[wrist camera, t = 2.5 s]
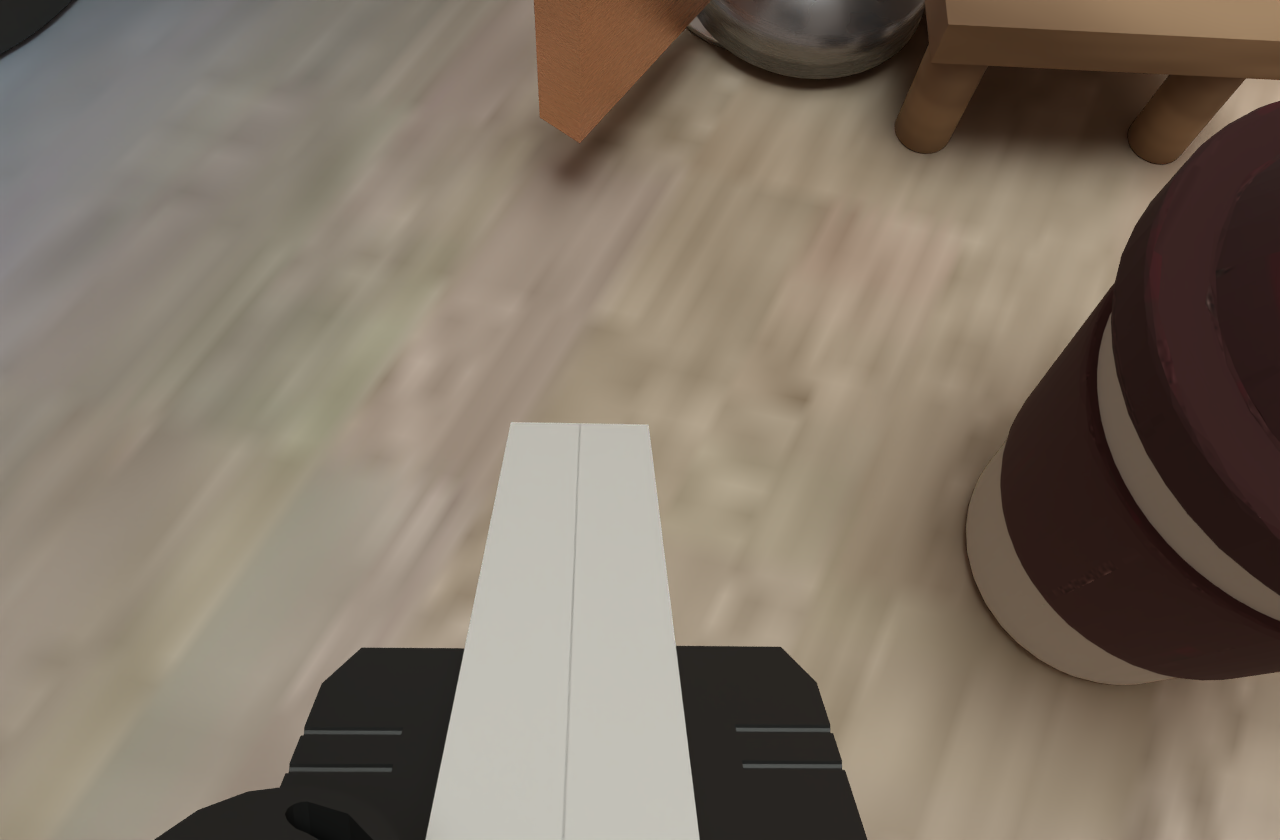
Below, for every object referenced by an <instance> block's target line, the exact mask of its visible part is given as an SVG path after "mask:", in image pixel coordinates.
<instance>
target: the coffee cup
mask: <svg viewBox="0 0 1280 840" xmlns="http://www.w3.org/2000/svg"><path fill="white" fill-rule="evenodd" d="M966 539H967V554H968V557H969V561H970V565H971V569H972V573H973V577H974V580H975V582H976V584H977V586H978V588H979V591H980V593H981V595H982V597H983V599H984V602H985V604H986V605H987V606H988V608H989V609H990V611H991V612H992V614H993V615H994V616H995V618H996V619H997V621H998V622H999V624H1000V625H1001V626H1002V627H1003V628H1004V629H1005V630H1006V631H1007V633H1008V634H1009V635H1010V636H1011V637H1012V638H1013V639H1014V640H1015V641H1016V642H1017V643H1018V644H1020V645H1021V646H1022V647H1023V648H1025V649H1026V650H1027V651H1029V652H1030V653H1031V654H1033V655H1034V656H1035V657H1036V658H1038V659H1039V660H1041V661H1043V662H1045V663H1046V664H1048V665H1050V666H1052V667H1054V668H1056V669H1057V670H1060V671H1062V672H1065V673H1067V674H1069V675H1072V676H1074V677H1078V678H1082V679H1086V680H1090V681H1094V682H1098V683H1105V684H1112V685H1134V684H1143V683H1149V682H1155V681H1161V680H1167V679H1173V678H1184V679H1195V680H1224V679H1233V678H1240V677H1247V676H1254V675H1260V674H1267V673H1274V672H1280V101H1278V102H1275V103H1271V104H1268V105H1266V106H1263V107H1260V108H1258V109H1256V110H1254V111H1252V112H1250V113H1248V114H1247V115H1245V116H1243V117H1241V118H1239V119H1237V120H1235V121H1234V122H1232V123H1230V124H1228V125H1227V126H1226V127H1224V128H1223V129H1222V130H1220V131H1219V132H1217V133H1216V134H1215V135H1214V136H1212V137H1211V138H1210V139H1208V140H1207V141H1206V142H1205V143H1203V144H1202V145H1201V146H1200V147H1199V148H1198V149H1197V150H1196V151H1195V153H1194V154H1193V155H1192V156H1191V157H1190V158H1189V159H1188V160H1187V161H1186V163H1185V164H1184V165H1183V166H1182V167H1181V168H1180V169H1179V170H1178V172H1177V173H1176V174H1175V175H1174V176H1173V177H1172V178H1171V180H1170V181H1169V182H1168V183H1167V184H1166V185H1165V186H1164V188H1163V189H1162V190H1161V191H1160V192H1159V193H1158V194H1157V196H1156V197H1155V198H1154V199H1153V200H1152V201H1151V203H1150V204H1149V206H1148V207H1147V209H1146V210H1145V212H1144V213H1143V215H1142V216H1141V218H1140V219H1139V221H1138V222H1137V224H1136V225H1135V227H1134V230H1133V232H1132V234H1131V236H1130V238H1129V240H1128V242H1127V245H1126V247H1125V249H1124V251H1123V253H1122V256H1121V260H1120V264H1119V268H1118V272H1117V276H1116V280H1115V283H1114V284H1113V286H1112V287H1111V288H1110V289H1109V291H1108V292H1107V293H1106V295H1105V296H1104V297H1103V299H1102V300H1101V301H1100V303H1099V304H1098V305H1097V307H1096V308H1095V309H1094V311H1093V312H1092V313H1091V315H1090V316H1089V317H1088V319H1087V320H1086V321H1085V323H1084V324H1083V325H1082V327H1081V328H1080V329H1079V331H1078V332H1077V333H1076V335H1075V336H1074V337H1073V339H1072V340H1071V341H1070V343H1069V344H1068V345H1067V347H1066V348H1065V349H1064V351H1063V352H1062V353H1061V355H1060V356H1059V357H1058V359H1057V360H1056V361H1055V363H1054V364H1053V365H1052V367H1051V368H1050V369H1049V371H1048V372H1047V373H1046V375H1045V376H1044V377H1043V379H1042V380H1041V381H1040V383H1039V384H1038V385H1037V386H1036V388H1035V389H1034V390H1033V392H1032V393H1031V395H1030V396H1029V397H1028V399H1027V400H1026V401H1025V403H1024V405H1023V406H1022V408H1021V409H1020V411H1019V413H1018V414H1017V416H1016V418H1015V420H1014V422H1013V424H1012V426H1011V429H1010V432H1009V435H1008V438H1007V440H1006V441H1005V443H1004V444H1003V445H1002V446H1001V448H1000V449H999V450H998V452H997V453H996V454H995V455H994V457H993V458H992V459H991V461H990V462H989V463H988V465H987V466H986V468H985V469H984V471H983V472H982V474H981V476H980V478H979V479H978V481H977V483H976V486H975V489H974V491H973V494H972V497H971V500H970V504H969V508H968V515H967V523H966Z"/></svg>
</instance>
